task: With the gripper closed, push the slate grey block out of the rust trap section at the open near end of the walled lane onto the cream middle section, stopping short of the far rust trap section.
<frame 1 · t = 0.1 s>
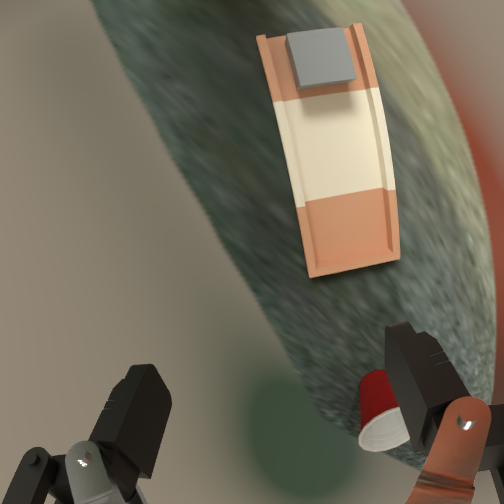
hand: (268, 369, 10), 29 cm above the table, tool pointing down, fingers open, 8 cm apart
plastic cup: (375, 379, 48), on the table
slate block: (316, 62, 30), point 1 cm above the table, touching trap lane
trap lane: (334, 144, 34), on the table
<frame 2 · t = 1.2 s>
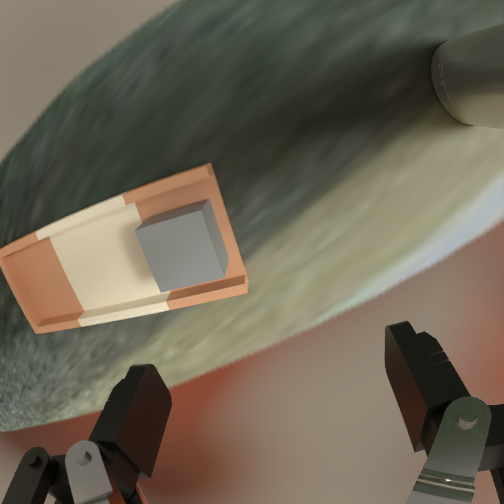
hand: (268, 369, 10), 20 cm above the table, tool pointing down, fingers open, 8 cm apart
slate block: (189, 237, 29), point 1 cm above the table, touching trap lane
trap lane: (106, 259, 31), on the table
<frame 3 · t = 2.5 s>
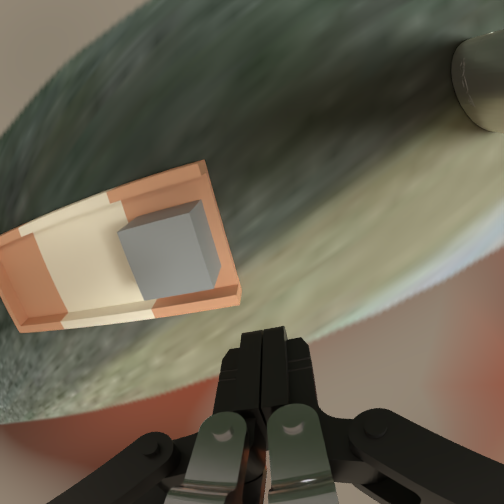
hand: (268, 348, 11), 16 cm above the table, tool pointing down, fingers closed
slate block: (178, 241, 26), point 1 cm above the table, touching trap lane
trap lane: (91, 260, 28), on the table
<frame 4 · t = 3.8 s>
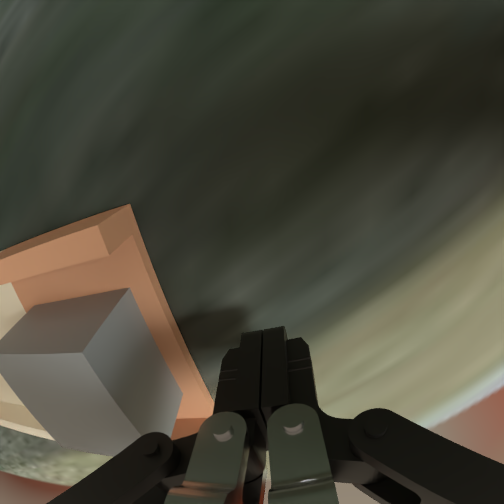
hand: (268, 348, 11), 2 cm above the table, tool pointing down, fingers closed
slate block: (104, 351, 13), point 1 cm above the table, touching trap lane
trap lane: (2, 349, 15), on the table
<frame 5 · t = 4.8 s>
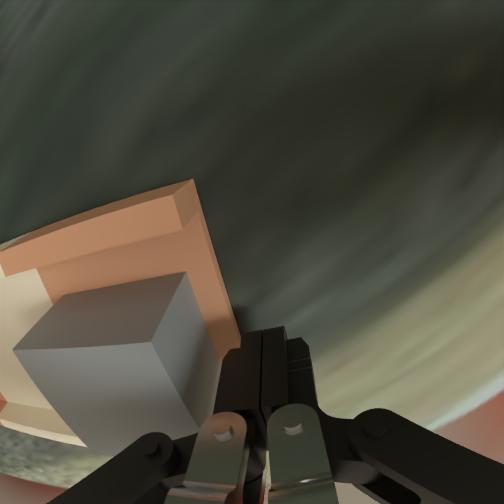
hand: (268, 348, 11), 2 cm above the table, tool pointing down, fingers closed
slate block: (145, 345, 12), point 1 cm above the table, touching gripper, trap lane
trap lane: (17, 346, 14), on the table
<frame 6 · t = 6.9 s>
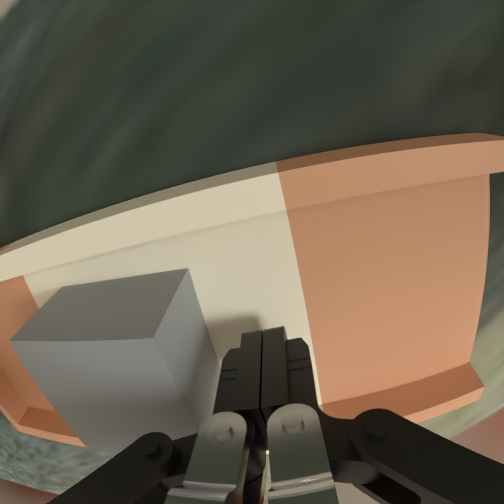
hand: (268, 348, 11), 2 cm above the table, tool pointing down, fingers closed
slate block: (142, 340, 12), point 1 cm above the table, touching gripper, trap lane
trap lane: (167, 336, 13), on the table
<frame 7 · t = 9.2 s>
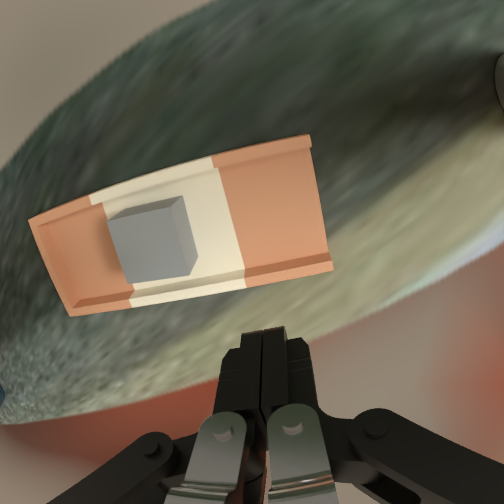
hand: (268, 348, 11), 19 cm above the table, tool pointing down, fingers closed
slate block: (160, 232, 29), point 1 cm above the table, touching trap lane
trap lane: (171, 231, 29), on the table
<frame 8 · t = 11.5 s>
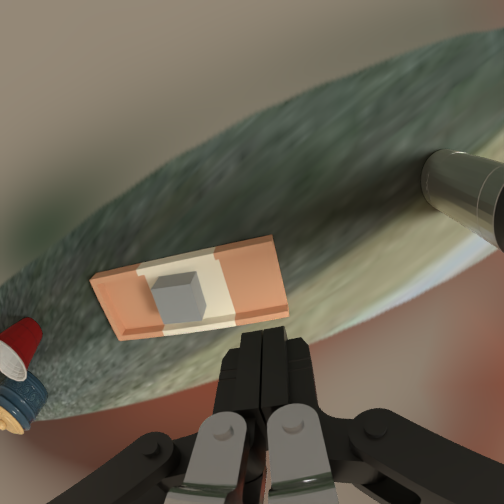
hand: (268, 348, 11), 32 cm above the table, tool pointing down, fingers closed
plastic cup: (34, 328, 54), on the table
slate block: (182, 291, 47), point 1 cm above the table, touching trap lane
canister: (30, 383, 62), on the table
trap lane: (189, 290, 47), on the table
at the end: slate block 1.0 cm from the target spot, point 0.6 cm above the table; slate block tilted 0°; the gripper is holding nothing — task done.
